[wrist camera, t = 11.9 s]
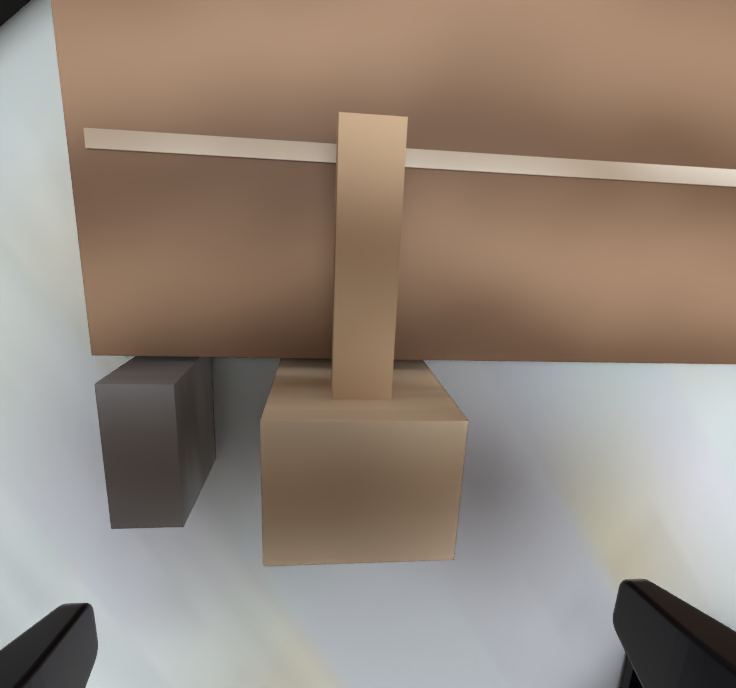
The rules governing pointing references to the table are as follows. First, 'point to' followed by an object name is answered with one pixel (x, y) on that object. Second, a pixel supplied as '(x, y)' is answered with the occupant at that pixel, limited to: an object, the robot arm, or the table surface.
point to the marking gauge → (362, 396)
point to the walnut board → (420, 197)
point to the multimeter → (10, 8)
